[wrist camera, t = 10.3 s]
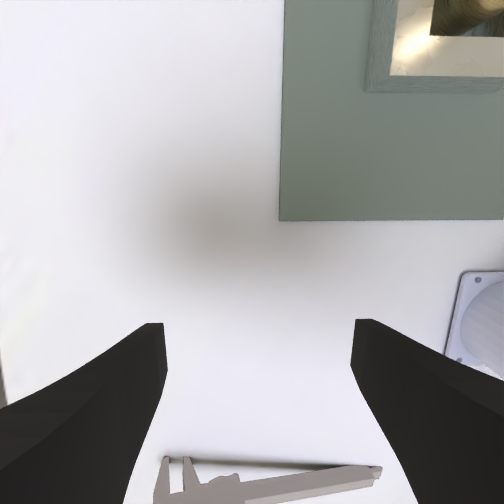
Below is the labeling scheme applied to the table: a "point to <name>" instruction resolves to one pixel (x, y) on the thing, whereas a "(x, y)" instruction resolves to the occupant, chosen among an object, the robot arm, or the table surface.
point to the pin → (462, 15)
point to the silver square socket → (430, 53)
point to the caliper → (261, 486)
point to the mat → (377, 132)
